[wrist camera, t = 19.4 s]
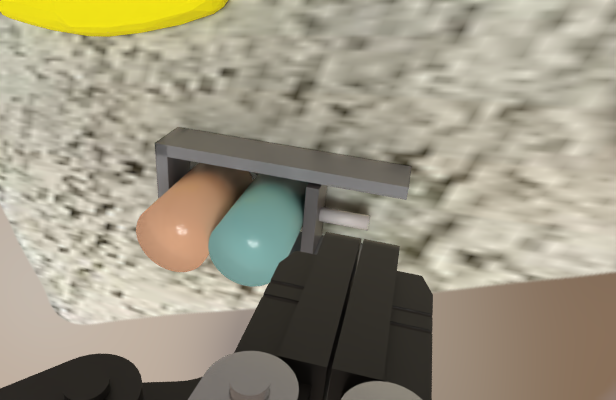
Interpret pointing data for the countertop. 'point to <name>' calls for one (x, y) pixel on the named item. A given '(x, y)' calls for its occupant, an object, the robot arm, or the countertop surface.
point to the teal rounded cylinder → (259, 230)
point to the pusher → (324, 217)
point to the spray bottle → (108, 14)
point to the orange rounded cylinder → (189, 216)
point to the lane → (276, 165)
